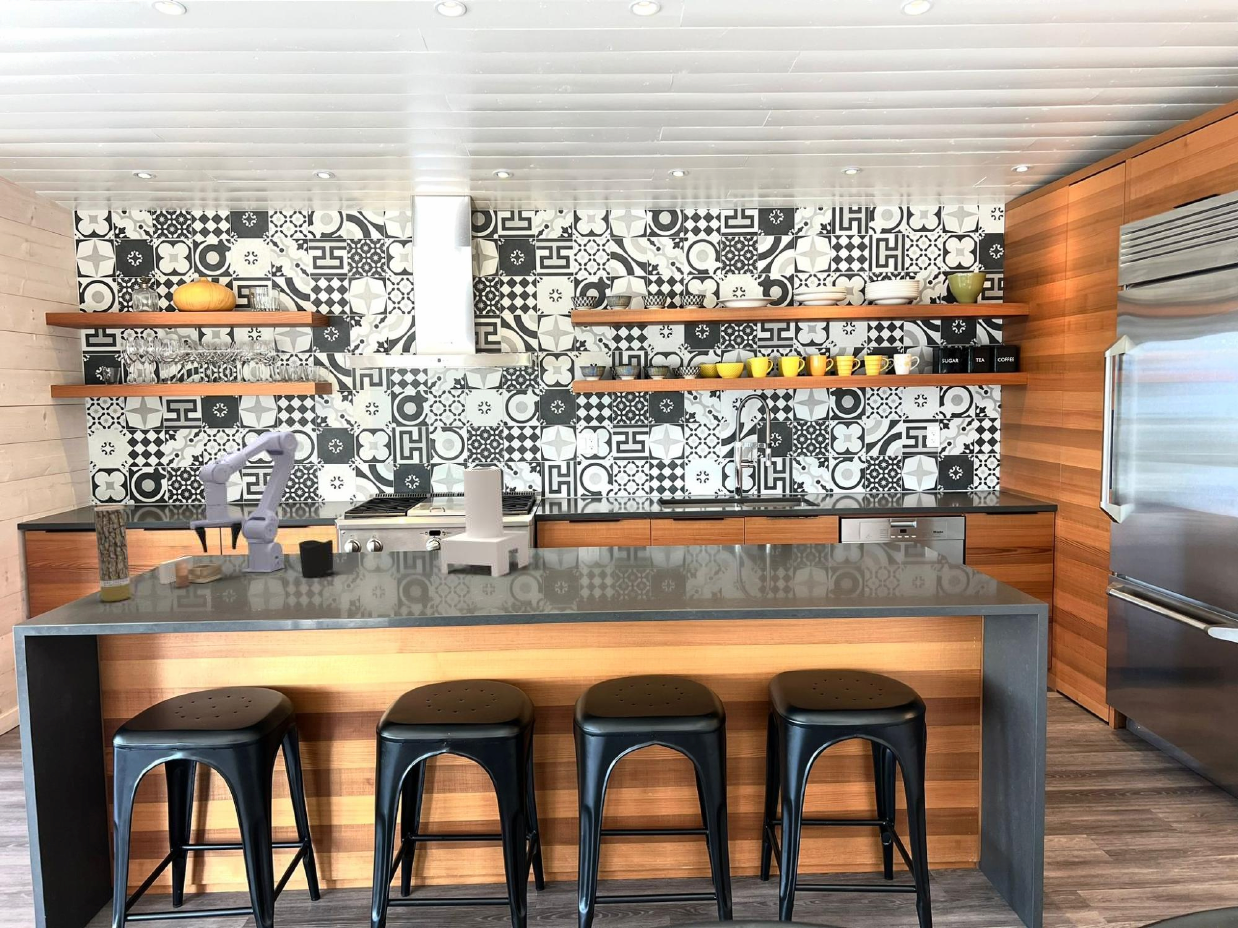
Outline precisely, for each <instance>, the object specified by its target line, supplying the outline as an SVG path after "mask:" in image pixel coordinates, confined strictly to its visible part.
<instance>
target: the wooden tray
mask: <svg viewBox="0 0 1238 928" xmlns="http://www.w3.org/2000/svg"><path fill="white" fill-rule="evenodd" d="M188 578H189V583H194V584H195V583H203V584H205V583H208V582H212V581H215V580H218V579H221V578H222V566H221V564H219V563H218V564H217V563H199V564H196V565H193V566H191V567H188Z"/></svg>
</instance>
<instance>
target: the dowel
mask: <svg viewBox="0 0 1238 928" xmlns="http://www.w3.org/2000/svg"><path fill="white" fill-rule="evenodd" d="M175 574H176V581H175V584H176V586H175V587H176V588H177V587H185V588H188V587H187V586H189V587H190V582H189V578H188V564H187V561H182V562H176V563H175Z"/></svg>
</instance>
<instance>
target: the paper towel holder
mask: <svg viewBox="0 0 1238 928" xmlns="http://www.w3.org/2000/svg"><path fill="white" fill-rule="evenodd" d="M501 473H502V472H501V467H489V466H488V467H473V468H470V467H469V468H464V469H463V470H462V474H463V475H462V477H463V491H464V492H463V494H464V495H463V496H464V515H465V516H464V517H465V532H463V533H459V534H456V535H452V536H450V537H445V538H442V539H440V557H441V559H440V561H441V574H446V575H447V574H448V573H449V572H451V571H453V570H455V565H464V566H466V565H474V566H491V570H490V571H491V577H496V578H499V577H501V576H502V575H506V574H507V573H509V572H510V562H509V554H517V562H518V567H517V568H518V569H520V568H522V567H525V566H527V565H529V564H530V557H529V554H530V553H529V536H528V535H529V534H528V533H529V532H528V531H520V530H519V531H517V530H504V520H503V519H504V517H503V501H502V500H503V497H502V496H503V495H502V492H503V491H502V474H501Z"/></svg>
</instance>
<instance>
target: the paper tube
mask: <svg viewBox="0 0 1238 928" xmlns="http://www.w3.org/2000/svg"><path fill="white" fill-rule="evenodd" d="M93 511H94V523H95V536H96V546H97V547H96V548H97V559H98V569H99V570H98V573H99V583H100V584H99V585H100V594H101V595H100V597H101V600H102V601H103V602H108V603H109V602H110V603H111V602H119V601H125V600H127V599H129V598H130V597H131V596H132V595H131V594H132V593H131V592H132V591H131V580H130V579H131V578H130V568H129V555H128V554H129V553H128V543H127V542H128V541H127V532H126V531H127V530H126V517H125V516H126V515H125V507H124V505H106V506H97V507H94V508H93Z"/></svg>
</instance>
